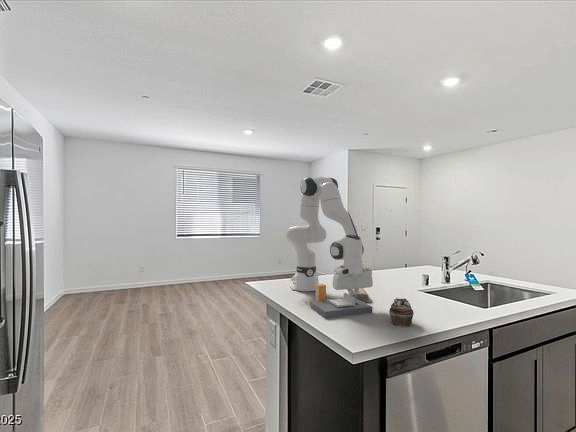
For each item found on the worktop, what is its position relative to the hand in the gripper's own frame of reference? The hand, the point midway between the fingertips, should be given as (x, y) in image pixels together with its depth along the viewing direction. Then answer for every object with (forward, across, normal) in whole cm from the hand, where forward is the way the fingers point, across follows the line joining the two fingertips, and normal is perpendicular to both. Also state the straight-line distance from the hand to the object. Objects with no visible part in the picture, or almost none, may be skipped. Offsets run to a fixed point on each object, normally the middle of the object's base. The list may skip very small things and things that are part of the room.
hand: (353, 297), depth 144 cm
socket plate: (+6, +7, 0) cm, 9 cm away
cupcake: (+6, -9, +23) cm, 26 cm away
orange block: (+6, +12, -12) cm, 18 cm away
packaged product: (+6, -14, -17) cm, 23 cm away
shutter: (+2, +6, 0) cm, 6 cm away
